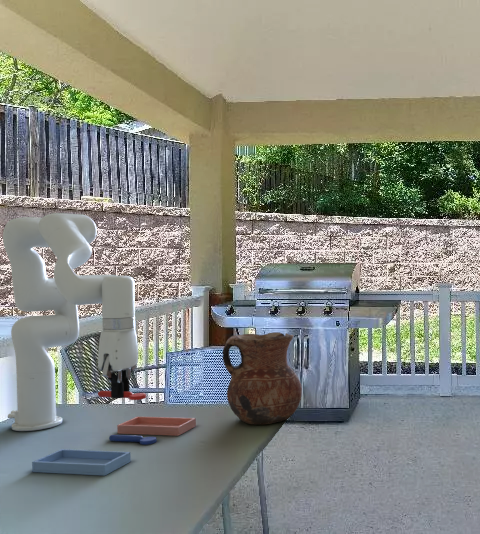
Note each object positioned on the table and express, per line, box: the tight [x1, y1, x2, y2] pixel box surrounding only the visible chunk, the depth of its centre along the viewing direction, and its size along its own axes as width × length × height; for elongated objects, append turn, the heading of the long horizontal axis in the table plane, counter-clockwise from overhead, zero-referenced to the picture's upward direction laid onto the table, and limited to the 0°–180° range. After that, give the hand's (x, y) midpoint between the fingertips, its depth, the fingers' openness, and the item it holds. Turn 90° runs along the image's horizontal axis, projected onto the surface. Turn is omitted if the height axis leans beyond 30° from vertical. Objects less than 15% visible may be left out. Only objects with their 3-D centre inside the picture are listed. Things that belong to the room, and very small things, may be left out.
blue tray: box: [31, 448, 132, 477], centre depth 139 cm, size 18×9×2 cm, turn 80°
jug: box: [222, 331, 303, 426], centre depth 177 cm, size 22×21×25 cm
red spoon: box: [97, 390, 147, 401], centre depth 154 cm, size 13×4×2 cm, turn 79°
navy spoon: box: [108, 434, 158, 446], centre depth 158 cm, size 13×4×2 cm, turn 80°
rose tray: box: [116, 416, 197, 437], centre depth 168 cm, size 18×9×2 cm, turn 80°
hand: (120, 396), depth 154 cm, fingers closed on red spoon, 1 cm apart
